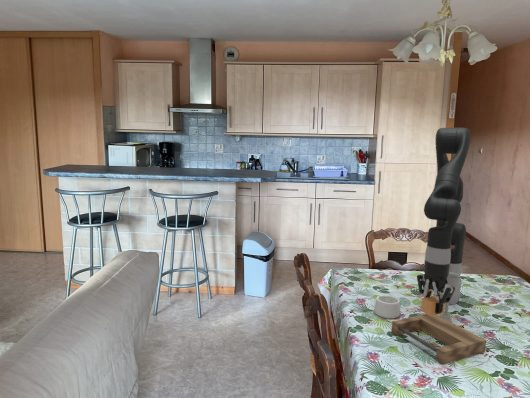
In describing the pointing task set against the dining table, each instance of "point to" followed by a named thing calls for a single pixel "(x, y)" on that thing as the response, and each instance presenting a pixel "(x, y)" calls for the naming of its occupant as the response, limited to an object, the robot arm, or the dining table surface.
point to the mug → (387, 306)
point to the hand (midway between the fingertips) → (432, 310)
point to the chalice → (453, 282)
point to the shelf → (442, 336)
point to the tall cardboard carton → (430, 305)
